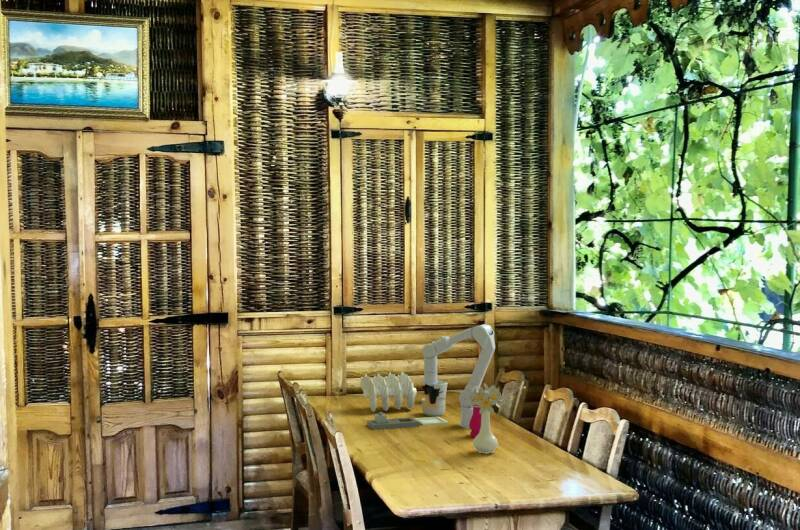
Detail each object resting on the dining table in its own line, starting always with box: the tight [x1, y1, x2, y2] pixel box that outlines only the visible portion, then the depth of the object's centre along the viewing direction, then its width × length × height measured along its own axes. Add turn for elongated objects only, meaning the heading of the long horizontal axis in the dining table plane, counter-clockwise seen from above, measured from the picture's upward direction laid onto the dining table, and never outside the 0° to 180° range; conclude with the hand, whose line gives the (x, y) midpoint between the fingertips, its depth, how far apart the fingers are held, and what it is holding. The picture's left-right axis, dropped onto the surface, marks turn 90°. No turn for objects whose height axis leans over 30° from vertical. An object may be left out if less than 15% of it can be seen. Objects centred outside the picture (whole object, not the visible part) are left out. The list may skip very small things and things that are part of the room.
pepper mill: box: [469, 386, 482, 438], centre depth 345 cm, size 7×7×20 cm
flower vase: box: [469, 382, 505, 455], centre depth 318 cm, size 13×18×25 cm
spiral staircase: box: [359, 371, 418, 413], centre depth 398 cm, size 18×18×25 cm
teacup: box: [421, 397, 446, 417], centre depth 388 cm, size 14×11×8 cm
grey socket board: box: [366, 416, 420, 431], centre depth 363 cm, size 10×20×2 cm, turn 109°
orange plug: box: [424, 393, 437, 408], centre depth 371 cm, size 4×4×6 cm
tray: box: [413, 416, 449, 427], centre depth 371 cm, size 12×12×1 cm
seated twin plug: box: [374, 411, 388, 424], centre depth 361 cm, size 4×4×6 cm
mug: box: [437, 380, 449, 399], centre depth 420 cm, size 10×15×10 cm
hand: (430, 402), depth 371 cm, fingers closed on orange plug, 4 cm apart
